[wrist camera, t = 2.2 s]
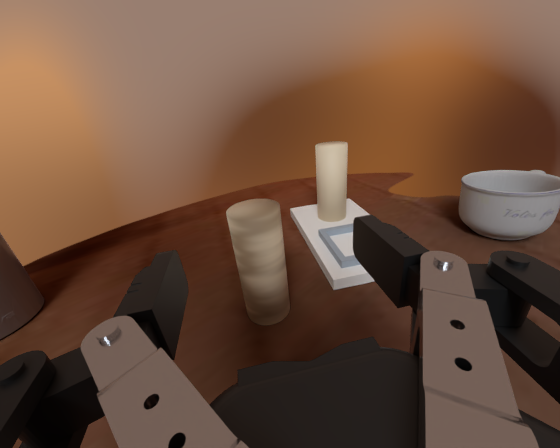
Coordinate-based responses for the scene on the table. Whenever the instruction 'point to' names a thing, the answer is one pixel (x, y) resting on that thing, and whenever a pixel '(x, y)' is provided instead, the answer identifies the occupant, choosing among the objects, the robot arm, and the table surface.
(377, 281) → the robot arm
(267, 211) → the maple post
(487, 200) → the teacup
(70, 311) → the table surface
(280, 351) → the table surface
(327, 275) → the board
